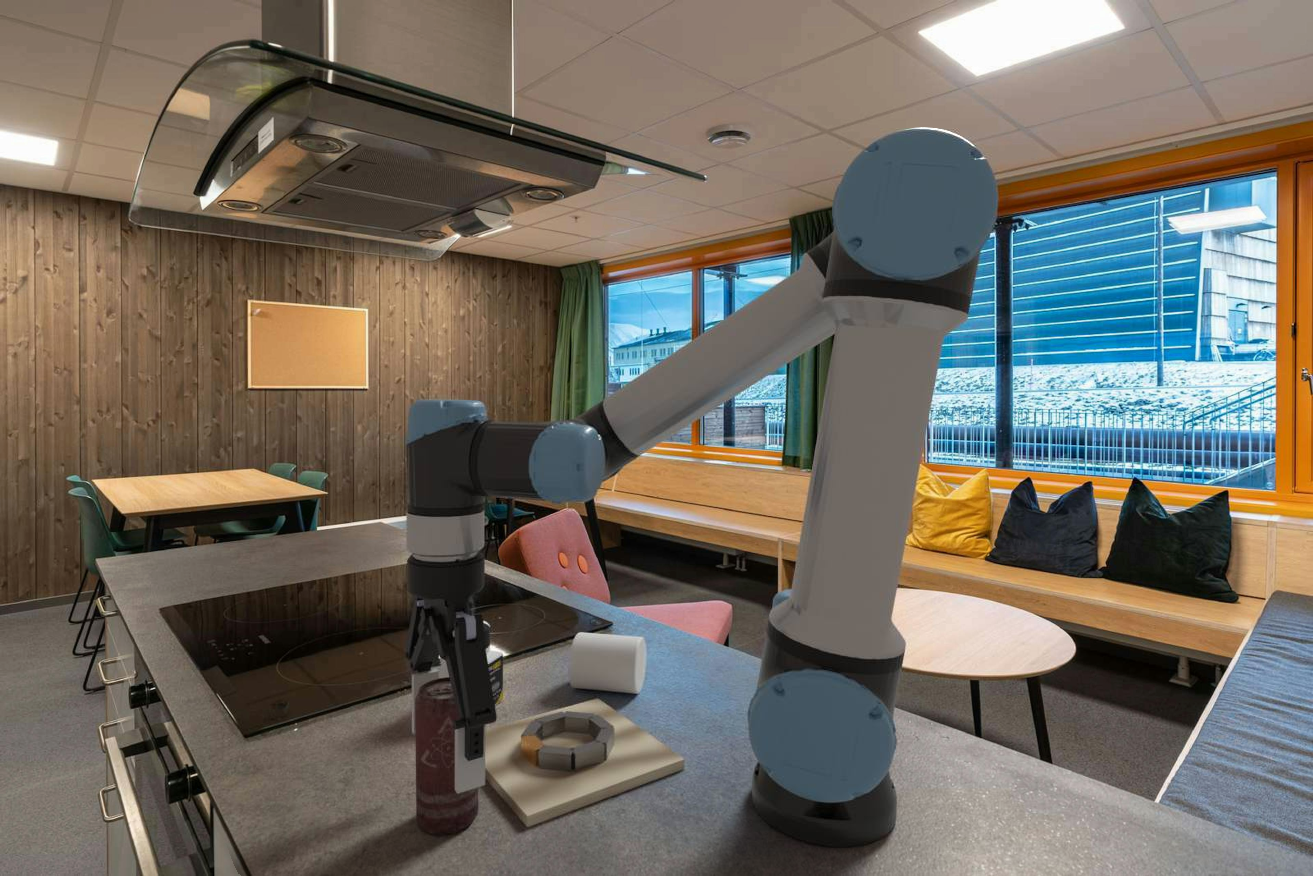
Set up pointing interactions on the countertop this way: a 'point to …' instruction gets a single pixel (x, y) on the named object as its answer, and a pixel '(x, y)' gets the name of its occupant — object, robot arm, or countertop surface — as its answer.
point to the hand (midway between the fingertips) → (445, 757)
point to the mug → (607, 662)
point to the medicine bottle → (493, 663)
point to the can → (439, 763)
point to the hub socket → (565, 756)
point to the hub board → (562, 791)
